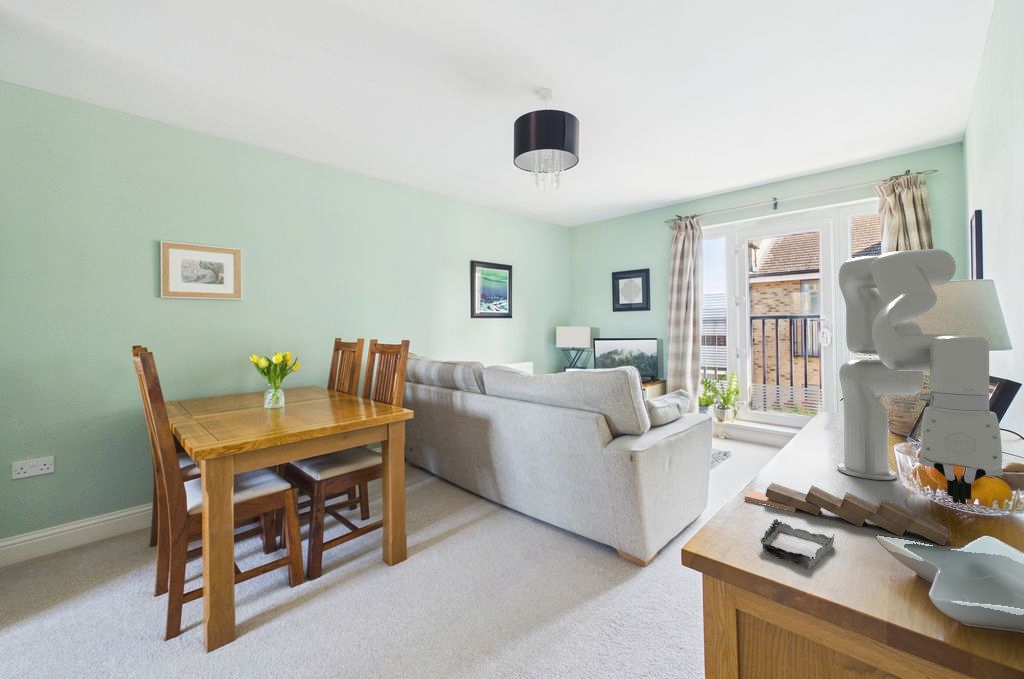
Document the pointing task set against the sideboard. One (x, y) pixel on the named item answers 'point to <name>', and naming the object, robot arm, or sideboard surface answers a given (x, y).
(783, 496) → the domino
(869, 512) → the domino
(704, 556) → the sideboard surface
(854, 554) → the sideboard surface
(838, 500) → the domino
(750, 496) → the domino
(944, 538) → the domino
